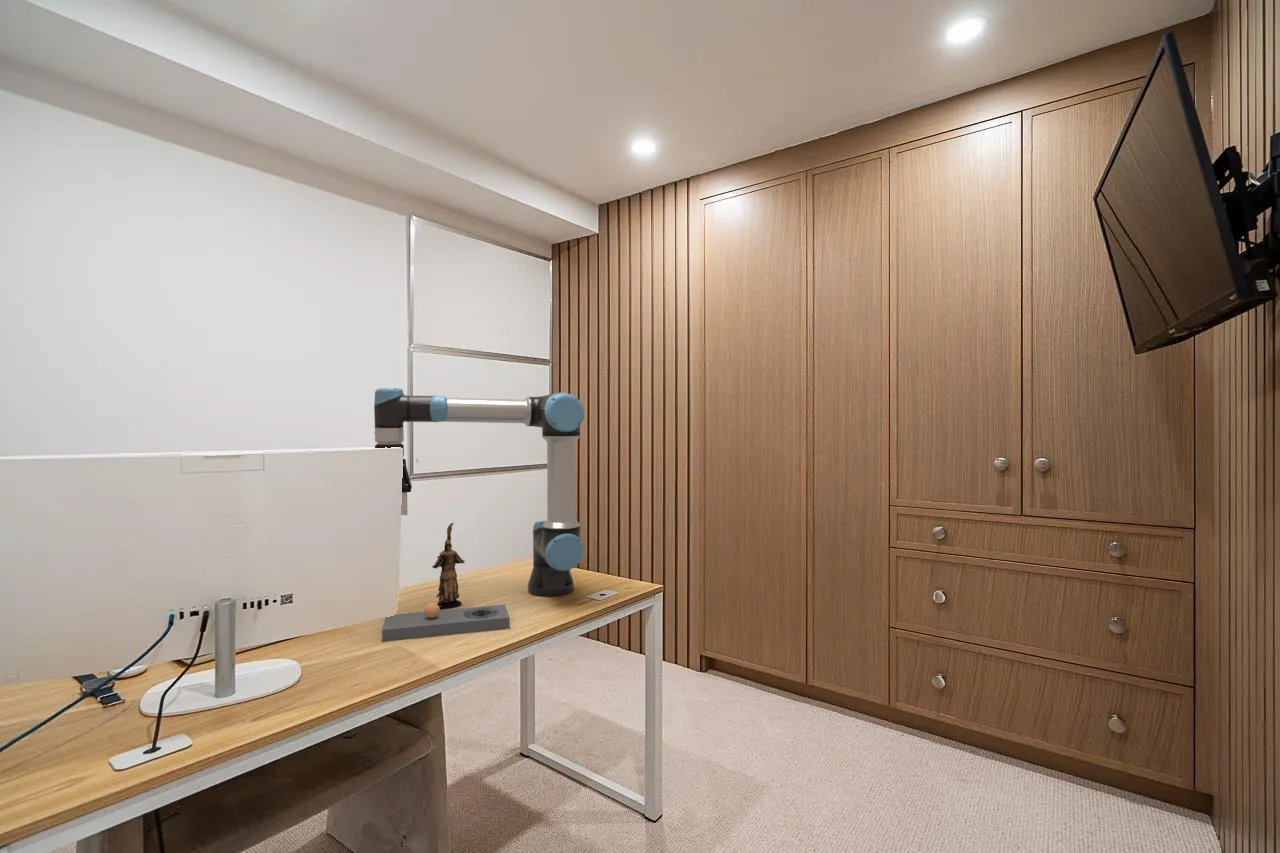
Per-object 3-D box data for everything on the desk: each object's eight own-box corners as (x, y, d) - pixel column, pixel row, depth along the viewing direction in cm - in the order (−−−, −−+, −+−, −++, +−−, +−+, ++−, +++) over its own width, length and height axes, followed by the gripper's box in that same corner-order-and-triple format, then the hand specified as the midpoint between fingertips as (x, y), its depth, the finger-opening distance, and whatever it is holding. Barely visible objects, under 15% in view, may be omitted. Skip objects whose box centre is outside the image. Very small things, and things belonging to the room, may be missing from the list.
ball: (439, 614, 168) (439, 600, 168) (439, 619, 164) (439, 604, 164) (424, 616, 167) (424, 601, 167) (424, 620, 163) (423, 605, 163)
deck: (505, 614, 178) (505, 604, 178) (509, 628, 166) (509, 617, 166) (386, 626, 168) (386, 615, 168) (382, 641, 156) (382, 629, 156)
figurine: (466, 604, 187) (466, 523, 186) (438, 612, 179) (438, 527, 179) (454, 600, 191) (454, 520, 190) (426, 608, 183) (426, 525, 183)
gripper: (399, 441, 184) (400, 511, 185) (350, 445, 160) (350, 526, 160) (423, 441, 183) (423, 512, 184) (377, 445, 159) (377, 527, 159)
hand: (389, 518), depth 172 cm, fingers open, 13 cm apart
